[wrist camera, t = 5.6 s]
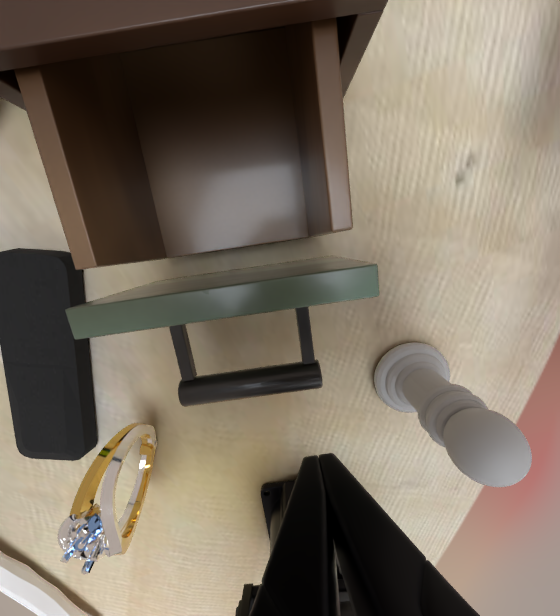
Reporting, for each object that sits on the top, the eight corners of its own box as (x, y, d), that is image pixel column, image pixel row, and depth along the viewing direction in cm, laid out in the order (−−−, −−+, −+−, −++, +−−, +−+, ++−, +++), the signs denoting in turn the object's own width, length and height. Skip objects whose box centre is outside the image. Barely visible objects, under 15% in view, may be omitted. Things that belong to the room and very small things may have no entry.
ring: (133, 398, 20) (45, 494, 13) (177, 405, 20) (116, 503, 13) (128, 476, 22) (47, 605, 14) (169, 482, 22) (111, 611, 14)
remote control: (11, 247, 18) (33, 447, 21) (-17, 246, 17) (11, 465, 19) (86, 252, 18) (98, 451, 21) (66, 252, 17) (81, 469, 19)
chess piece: (436, 330, 19) (568, 400, 11) (450, 394, 21) (579, 505, 12) (363, 353, 20) (434, 439, 11) (381, 415, 21) (457, 538, 12)
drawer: (341, 345, 19) (387, 414, 11) (177, 368, 19) (110, 452, 11) (310, 21, 15) (348, -222, 7) (99, 55, 15) (-87, -146, 7)
